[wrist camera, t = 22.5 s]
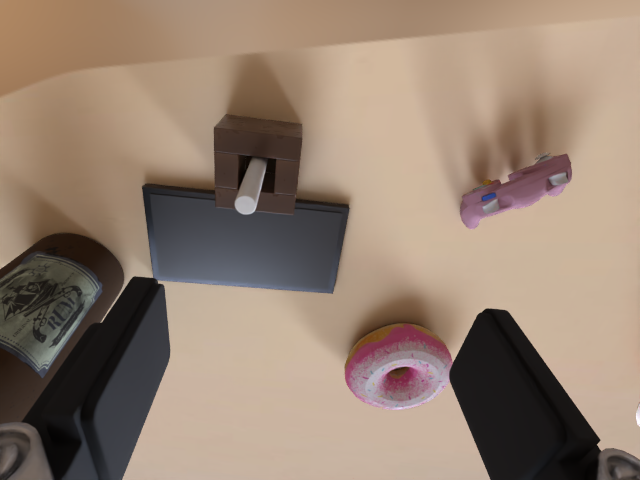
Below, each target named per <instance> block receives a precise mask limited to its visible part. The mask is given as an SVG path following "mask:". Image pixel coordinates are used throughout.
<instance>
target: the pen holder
mask: <svg viewBox="0 0 640 480" xmlns="http://www.w3.org/2000/svg"><path fill="white" fill-rule="evenodd" d="M301 146H302V124H297V123H290V122H282V121H274V120H266V119H258V118H250V117H242V116H235V115H227V114H226V115H225V116H224V117H223V118H222V119H221V120H220V121H219V123H218V124H217V125H216V126H215V127H214V151H215V152H214V164H215V207H217V208H227V209H236V208H235V200H236V197H237V195H238V192H239V189H240V187H241V184H242V182H243V179H244V177H245V174H246V171H247V170H245V169H246V155H249V156H257V157H266V158H275V159H276V170H275V173H269V172H265V175H264V179H263V183H262V187H261V191H260V194H259V198H258V202H257V206H256V209H255V211H257V212H267V213H277V214H287V215H294V210H295V201H296V192H297V183H298V173H299V164H300V155H301Z"/></svg>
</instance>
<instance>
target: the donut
mask: <svg viewBox="0 0 640 480" xmlns="http://www.w3.org/2000/svg"><path fill="white" fill-rule="evenodd" d="M451 366H452V358H451V355H450V353H449V351H448V349H447V347H446V345H445V344H444V342H443V341H442V340H441V339H440V338H439V337H438V336H437V335H435V334H434V333H433V332H431V331H429V330H428V329H426V328H424V327H421V326H419V325H415V324H408V323H400V324H392V325H388V326H385V327H382V328H380V329H377V330H375V331H373V332H371V333H369V334H367V335H366V336H365V337H363V338H362V339H360V340H359V341H358V342H357V343H356V344H355V345H354V347H353V348H352V350H351V351H350V353H349V355H348V358H347V360H346V364H345V380H346V383H347V385H348V387H349V388H350V390H351V391H352V392H353V394H354V395H355V396H356V397H357V398H359V399H360V400H361V401H363V402H365V403H367V404H370V405H372V406H375V407H379V408H383V409H390V410H401V409H408V408H413V407H416V406H419V405H422V404H424V403H426V402H428V401H430V400H431V399H433V398H435V397H436V396H437V395H438V394H439V393H440V392H441V391H442V390H443V389H444V388H445V387H446V385H447V384H448V383H449V380H450V379H449V371H450V368H451ZM398 367H403V368H400V369H395V368H398ZM393 369H395V370H393Z"/></svg>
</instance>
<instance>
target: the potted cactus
mask: <svg viewBox="0 0 640 480" xmlns="http://www.w3.org/2000/svg"><path fill="white" fill-rule="evenodd" d="M636 421H637V423H638V425H639V426H640V404H639V406H638V409H637V412H636Z"/></svg>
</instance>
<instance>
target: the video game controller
mask: <svg viewBox="0 0 640 480" xmlns="http://www.w3.org/2000/svg"><path fill="white" fill-rule="evenodd" d="M549 154H551V153H546V152H545V153H542V154H540V155H538V156H537V157H536V158H535V160H536V159H539V158H540V159H539V160H538V161H537V163H536V164H534V165H532V166H529V167H526V168H524V169H521V170H519V171H516V172H514V173H511V174H509V175H508V177H509V180H510V181H509V182H506V183H504V184H501V182H500V180H495V181H492V182H491V180H485V181H484V182H483V185H482V186H480V187H477V188H475V189H473V191H471V192H469V193H467V194H465V195H463V196H462V198H463V201H462V203H461V207H460V215H461V219H462V221H463V223H464V224H465V225H466V227H468V228H469V229H475V228H476V227H477V226H478V224H479V221H480V220H481V219H482V218H485V217H488V216H492V215H496V214H499V213H501V212H504V211H507V210H510V209H516V208H523V207H527V206H530V205H532V204H534V203H535V202H537V201H538V200H540V199H541V198H542V197H543V196H545V195H546V194H548V195H550V196H557V195H559V194H560V193H561V192H562V191H563V189H564V188H565V186H566V184H568V183H569V182H570V180H571V178H572V169H571V162H570V160H569V157H568V155H567V154H563V155H560V156H554V157H551V156H547V155H549Z"/></svg>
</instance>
